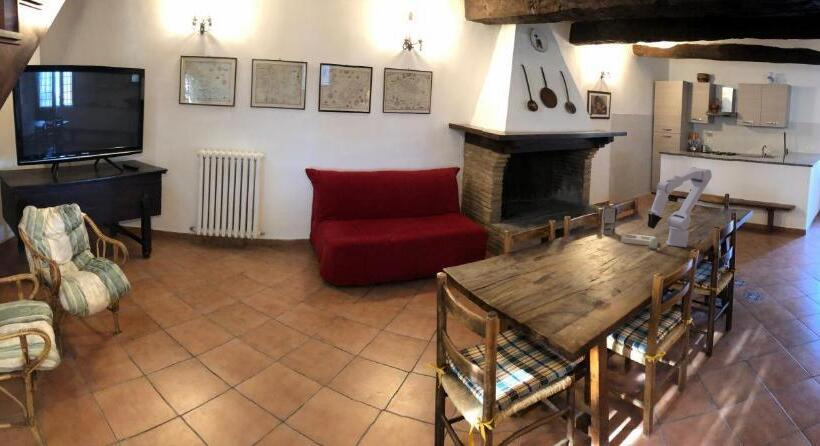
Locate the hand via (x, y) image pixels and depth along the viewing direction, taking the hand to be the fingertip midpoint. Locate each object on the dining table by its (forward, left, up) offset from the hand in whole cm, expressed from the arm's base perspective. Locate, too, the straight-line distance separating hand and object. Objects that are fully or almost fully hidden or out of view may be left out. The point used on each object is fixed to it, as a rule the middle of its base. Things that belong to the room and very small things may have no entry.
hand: (650, 227), depth 270 cm
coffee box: (+20, -21, -12) cm, 31 cm away
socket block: (+4, -10, -11) cm, 16 cm away
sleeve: (-2, +2, -11) cm, 12 cm away
